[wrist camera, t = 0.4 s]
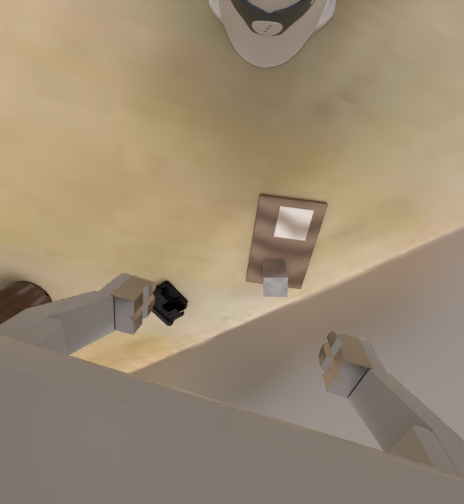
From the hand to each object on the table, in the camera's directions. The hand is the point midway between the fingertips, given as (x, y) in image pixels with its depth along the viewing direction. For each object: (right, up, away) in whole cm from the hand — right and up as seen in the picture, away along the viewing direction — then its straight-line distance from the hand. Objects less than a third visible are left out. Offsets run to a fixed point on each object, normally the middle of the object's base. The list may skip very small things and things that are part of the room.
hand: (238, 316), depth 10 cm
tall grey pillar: (+10, -1, +43) cm, 44 cm away
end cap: (-18, -10, +52) cm, 56 cm away
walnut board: (+12, +5, +41) cm, 43 cm away
